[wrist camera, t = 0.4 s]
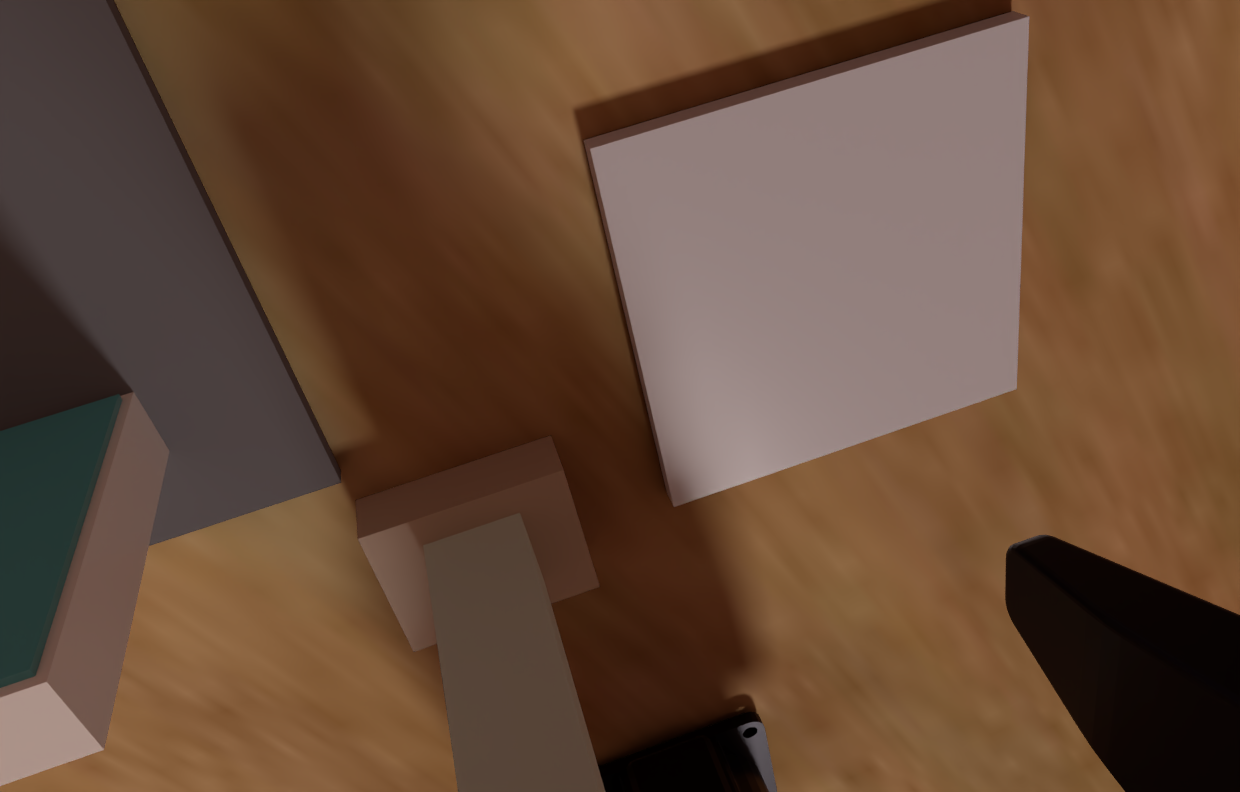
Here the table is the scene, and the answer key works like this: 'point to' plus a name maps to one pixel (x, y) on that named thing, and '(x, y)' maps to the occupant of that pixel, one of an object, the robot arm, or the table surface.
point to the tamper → (492, 610)
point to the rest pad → (822, 253)
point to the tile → (70, 574)
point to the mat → (134, 275)
